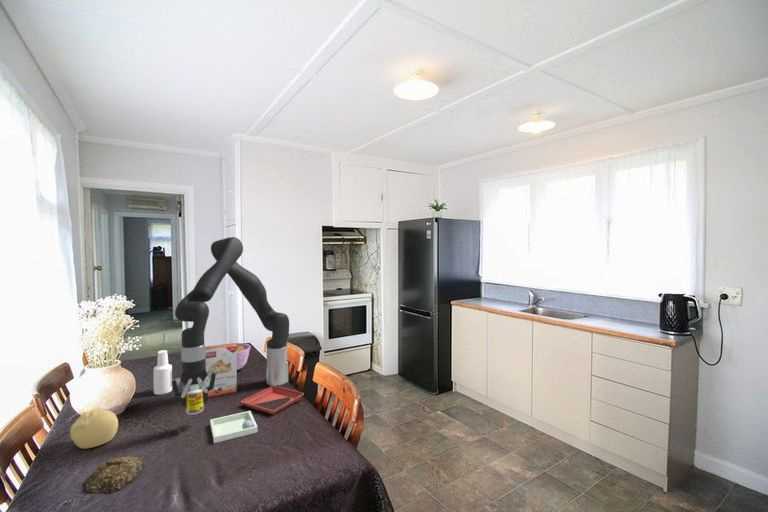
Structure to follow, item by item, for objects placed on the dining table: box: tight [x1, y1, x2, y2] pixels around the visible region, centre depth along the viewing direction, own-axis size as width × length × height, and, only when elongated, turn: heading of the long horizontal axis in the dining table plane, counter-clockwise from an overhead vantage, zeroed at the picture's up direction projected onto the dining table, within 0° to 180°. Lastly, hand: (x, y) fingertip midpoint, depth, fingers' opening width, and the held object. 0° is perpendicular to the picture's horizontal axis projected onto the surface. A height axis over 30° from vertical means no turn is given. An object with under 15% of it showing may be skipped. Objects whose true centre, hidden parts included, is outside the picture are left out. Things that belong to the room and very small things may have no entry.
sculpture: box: [69, 407, 119, 450], centre depth 114 cm, size 12×12×11 cm
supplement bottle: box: [185, 384, 205, 415], centre depth 124 cm, size 6×6×10 cm
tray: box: [209, 410, 259, 444], centre depth 123 cm, size 14×14×2 cm
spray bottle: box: [153, 349, 173, 396], centre depth 154 cm, size 7×7×18 cm
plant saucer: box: [240, 385, 304, 415], centre depth 144 cm, size 18×18×3 cm
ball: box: [242, 420, 253, 429], centre depth 122 cm, size 4×4×4 cm
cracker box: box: [204, 342, 238, 398], centre depth 153 cm, size 14×6×21 cm, turn 122°
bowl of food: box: [221, 342, 251, 371], centre depth 181 cm, size 20×20×12 cm
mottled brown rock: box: [84, 455, 146, 494], centre depth 98 cm, size 13×12×5 cm
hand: (194, 404), depth 125 cm, fingers closed on supplement bottle, 5 cm apart
